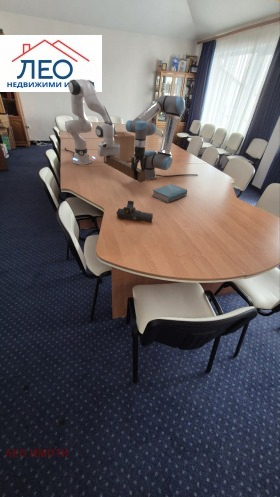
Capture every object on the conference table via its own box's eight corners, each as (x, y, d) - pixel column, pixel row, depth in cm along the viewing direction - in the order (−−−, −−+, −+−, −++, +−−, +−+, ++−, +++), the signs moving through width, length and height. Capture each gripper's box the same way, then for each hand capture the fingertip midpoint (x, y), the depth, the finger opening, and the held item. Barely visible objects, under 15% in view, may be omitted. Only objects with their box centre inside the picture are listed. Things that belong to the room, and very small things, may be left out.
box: (144, 162, 244) (146, 135, 228) (114, 165, 229) (114, 136, 213) (127, 152, 274) (128, 128, 258) (100, 154, 260) (99, 128, 243)
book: (170, 189, 184) (171, 183, 181) (186, 195, 175) (187, 189, 172) (152, 196, 171) (152, 189, 168) (168, 203, 162) (169, 196, 159)
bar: (145, 181, 166) (145, 171, 162) (140, 182, 164) (140, 172, 160) (108, 162, 202) (108, 153, 197) (104, 162, 199) (103, 154, 195)
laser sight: (150, 226, 134) (151, 211, 128) (114, 220, 137) (114, 205, 131) (152, 218, 142) (154, 204, 136) (119, 213, 144) (119, 199, 139)
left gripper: (117, 142, 194) (117, 158, 202) (96, 143, 184) (97, 161, 192) (121, 143, 190) (121, 160, 198) (100, 145, 180) (100, 163, 188)
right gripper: (146, 144, 162) (144, 175, 176) (126, 146, 153) (125, 179, 167) (153, 146, 157) (150, 178, 171) (132, 148, 148) (131, 182, 162)
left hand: (109, 160), depth 195 cm, fingers closed on bar, 5 cm apart
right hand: (138, 179), depth 169 cm, fingers closed on bar, 5 cm apart
